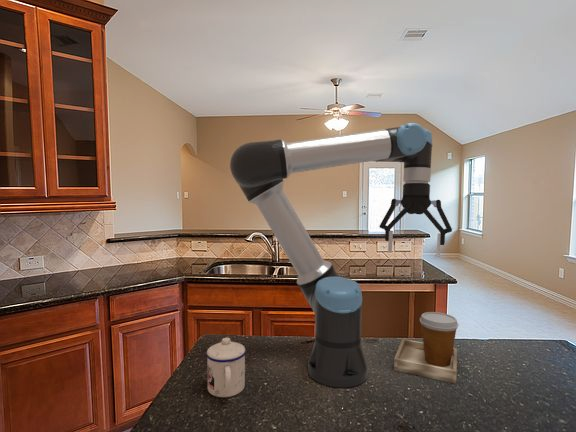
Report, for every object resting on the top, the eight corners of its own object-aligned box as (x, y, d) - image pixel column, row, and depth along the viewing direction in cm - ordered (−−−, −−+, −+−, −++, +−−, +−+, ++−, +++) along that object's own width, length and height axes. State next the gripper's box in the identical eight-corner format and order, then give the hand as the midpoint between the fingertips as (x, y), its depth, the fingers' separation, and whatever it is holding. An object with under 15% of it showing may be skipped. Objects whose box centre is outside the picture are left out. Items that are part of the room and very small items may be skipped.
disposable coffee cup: (462, 371, 86) (463, 324, 85) (422, 368, 88) (423, 322, 87) (451, 354, 95) (452, 312, 95) (415, 352, 97) (416, 310, 96)
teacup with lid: (206, 380, 83) (206, 333, 83) (243, 375, 86) (243, 330, 85) (206, 409, 72) (206, 354, 71) (249, 403, 74) (249, 350, 73)
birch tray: (393, 370, 89) (393, 358, 88) (402, 348, 102) (402, 338, 101) (456, 384, 82) (456, 371, 82) (456, 359, 95) (457, 348, 95)
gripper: (463, 183, 99) (459, 256, 100) (376, 183, 110) (374, 249, 111) (464, 182, 92) (460, 259, 93) (371, 182, 103) (368, 251, 104)
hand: (413, 254), depth 102 cm, fingers open, 13 cm apart
